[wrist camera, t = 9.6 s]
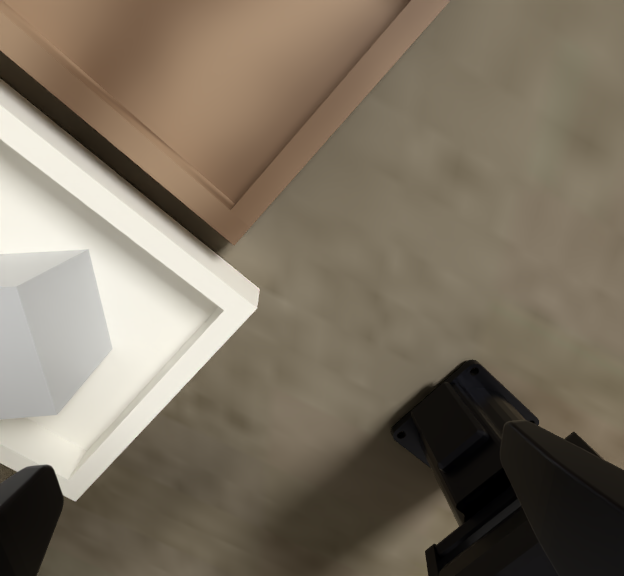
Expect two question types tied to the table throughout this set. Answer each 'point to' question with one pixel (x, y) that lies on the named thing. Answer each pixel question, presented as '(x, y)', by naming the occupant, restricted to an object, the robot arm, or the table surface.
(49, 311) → the stone block
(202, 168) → the walnut tray
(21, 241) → the cream tray
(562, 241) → the table surface
